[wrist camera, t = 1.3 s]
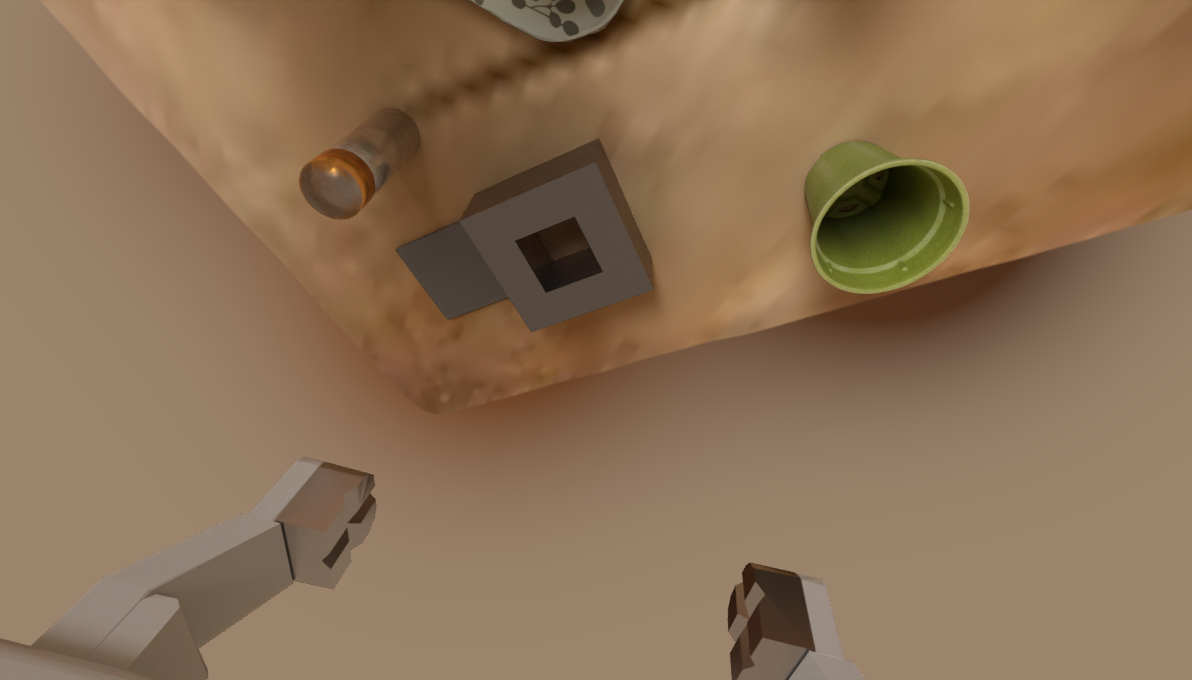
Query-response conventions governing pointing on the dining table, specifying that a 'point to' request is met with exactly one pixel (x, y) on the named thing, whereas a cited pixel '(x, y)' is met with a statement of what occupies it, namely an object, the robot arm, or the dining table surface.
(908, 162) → the plant pot
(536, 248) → the grey square block
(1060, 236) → the dining table surface
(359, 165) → the cylindrical container
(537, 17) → the salad plate
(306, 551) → the robot arm
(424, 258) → the mat
